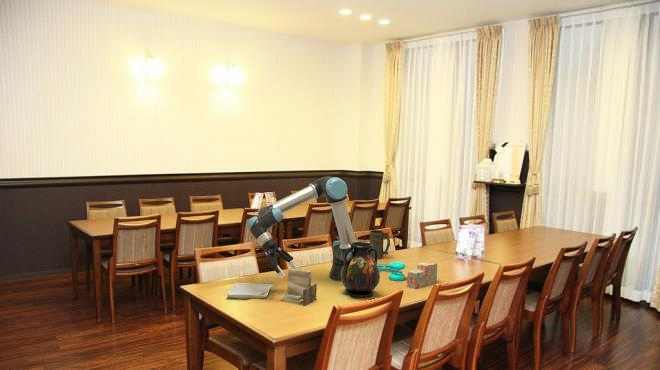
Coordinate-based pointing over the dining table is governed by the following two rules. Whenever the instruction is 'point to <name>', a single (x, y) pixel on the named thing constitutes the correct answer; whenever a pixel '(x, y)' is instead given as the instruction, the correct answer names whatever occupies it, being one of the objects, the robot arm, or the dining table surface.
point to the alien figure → (386, 268)
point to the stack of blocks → (422, 275)
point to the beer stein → (378, 243)
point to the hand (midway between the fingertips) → (290, 274)
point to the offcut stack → (293, 299)
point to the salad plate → (249, 290)
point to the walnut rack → (308, 295)
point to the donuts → (397, 275)
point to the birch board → (298, 281)
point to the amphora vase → (360, 271)
